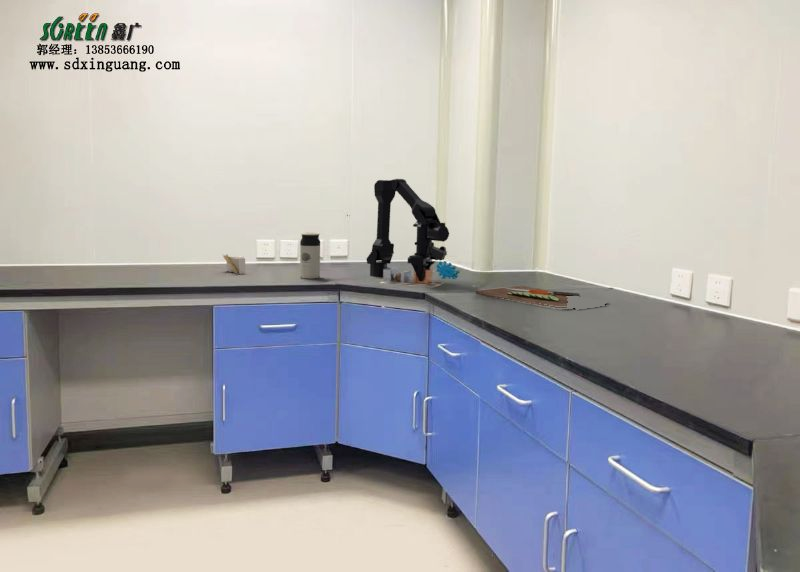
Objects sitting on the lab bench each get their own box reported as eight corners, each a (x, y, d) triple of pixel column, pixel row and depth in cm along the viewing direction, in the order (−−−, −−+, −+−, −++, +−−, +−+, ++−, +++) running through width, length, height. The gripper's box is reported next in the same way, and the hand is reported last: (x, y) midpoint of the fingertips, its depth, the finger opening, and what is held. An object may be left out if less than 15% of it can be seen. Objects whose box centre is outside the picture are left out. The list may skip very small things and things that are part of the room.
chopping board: (467, 293, 247) (467, 285, 247) (517, 288, 263) (517, 280, 263) (566, 313, 212) (566, 304, 212) (616, 306, 228) (617, 297, 228)
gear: (439, 277, 271) (434, 258, 277) (433, 286, 275) (428, 267, 281) (463, 280, 275) (458, 261, 281) (457, 289, 280) (452, 270, 285)
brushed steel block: (383, 282, 257) (383, 269, 257) (391, 279, 265) (391, 267, 264) (390, 282, 256) (390, 269, 255) (398, 280, 264) (398, 267, 263)
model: (239, 275, 278) (239, 256, 277) (221, 272, 284) (221, 254, 283) (245, 274, 281) (245, 256, 280) (227, 272, 287) (227, 254, 286)
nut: (393, 282, 258) (393, 273, 258) (397, 281, 261) (397, 272, 261) (402, 282, 257) (402, 273, 256) (406, 281, 260) (405, 272, 260)
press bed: (378, 285, 256) (378, 281, 256) (390, 282, 267) (390, 277, 267) (433, 290, 248) (433, 285, 248) (443, 286, 259) (443, 281, 259)
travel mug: (309, 275, 279) (309, 232, 276) (323, 277, 274) (324, 233, 272) (295, 277, 273) (296, 232, 270) (310, 279, 268) (310, 234, 265)
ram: (400, 282, 255) (401, 268, 254) (407, 280, 262) (407, 266, 261) (426, 285, 251) (427, 270, 250) (432, 282, 258) (433, 268, 257)
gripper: (436, 242, 242) (435, 285, 244) (452, 239, 259) (450, 279, 261) (407, 240, 246) (406, 283, 248) (424, 237, 263) (423, 277, 265)
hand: (422, 280), depth 255 cm, fingers closed on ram, 4 cm apart
